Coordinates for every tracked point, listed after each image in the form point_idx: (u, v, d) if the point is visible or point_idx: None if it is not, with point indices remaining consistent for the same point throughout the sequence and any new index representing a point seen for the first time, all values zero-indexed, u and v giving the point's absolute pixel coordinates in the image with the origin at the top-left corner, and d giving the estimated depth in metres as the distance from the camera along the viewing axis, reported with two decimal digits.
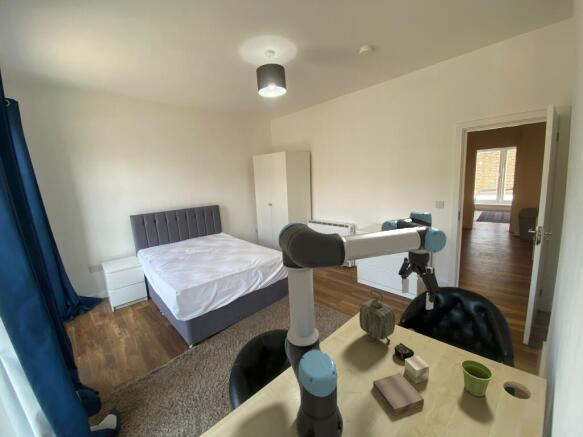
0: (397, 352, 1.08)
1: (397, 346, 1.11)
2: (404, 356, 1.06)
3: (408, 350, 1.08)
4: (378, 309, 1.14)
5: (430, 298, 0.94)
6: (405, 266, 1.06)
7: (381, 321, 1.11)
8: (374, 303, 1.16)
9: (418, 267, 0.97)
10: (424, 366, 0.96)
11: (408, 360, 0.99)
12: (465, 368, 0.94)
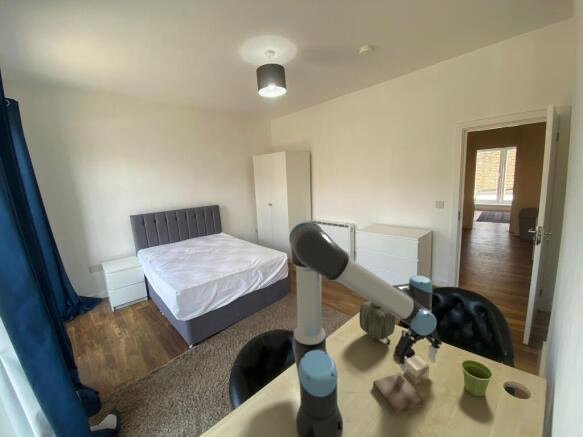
0: None
1: None
2: None
3: None
4: (378, 309, 1.15)
5: None
6: (431, 332, 0.98)
7: (381, 321, 1.11)
8: None
9: None
10: (424, 366, 0.96)
11: (408, 360, 0.99)
12: (465, 368, 0.94)
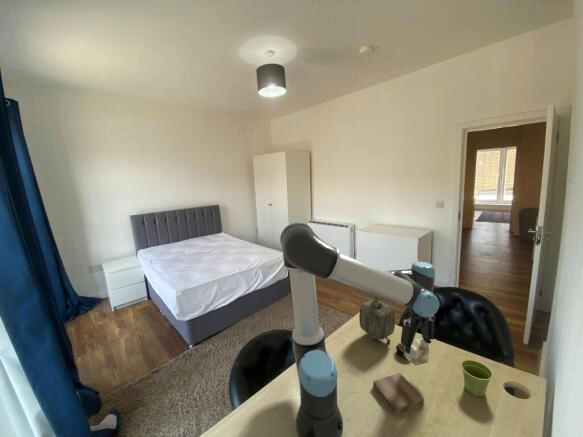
0: (399, 351, 1.09)
1: (399, 345, 1.11)
2: None
3: None
4: (378, 309, 1.14)
5: None
6: (428, 324, 0.97)
7: (381, 321, 1.11)
8: (374, 303, 1.16)
9: None
10: (424, 348, 0.94)
11: None
12: (465, 368, 0.94)
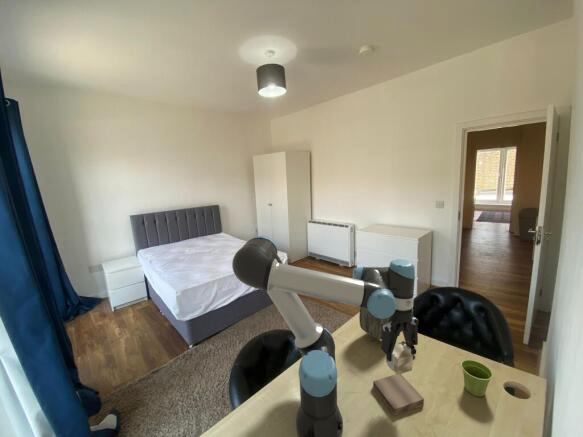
0: None
1: None
2: None
3: None
4: None
5: None
6: (411, 328, 0.88)
7: (381, 321, 1.11)
8: None
9: None
10: (407, 355, 0.85)
11: None
12: (465, 368, 0.94)
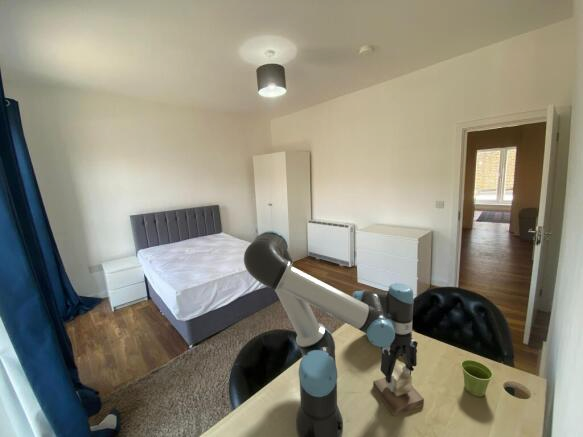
0: None
1: None
2: None
3: None
4: None
5: None
6: (410, 350, 0.89)
7: None
8: None
9: None
10: (406, 377, 0.87)
11: None
12: (465, 368, 0.94)
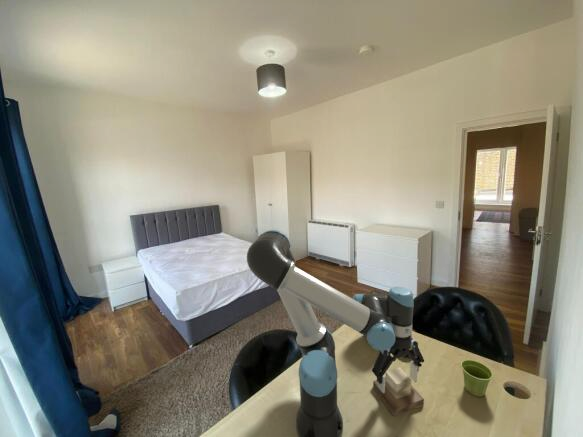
0: None
1: None
2: None
3: None
4: None
5: None
6: (413, 349, 0.90)
7: None
8: None
9: None
10: (406, 380, 0.87)
11: (389, 372, 0.91)
12: (465, 368, 0.94)
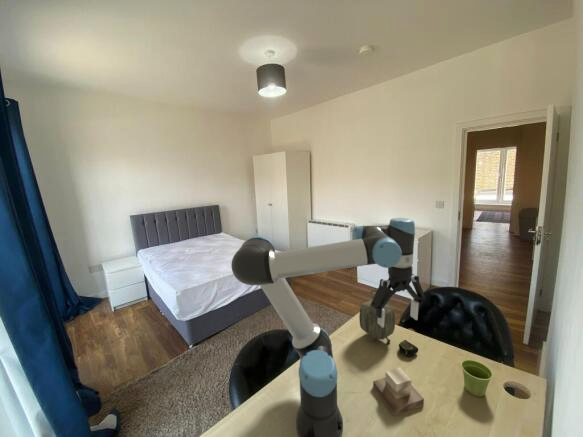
0: (401, 348, 1.10)
1: (401, 343, 1.13)
2: (409, 353, 1.08)
3: (412, 346, 1.10)
4: None
5: None
6: (414, 285, 0.87)
7: None
8: None
9: None
10: (406, 380, 0.87)
11: (389, 372, 0.91)
12: (465, 368, 0.94)
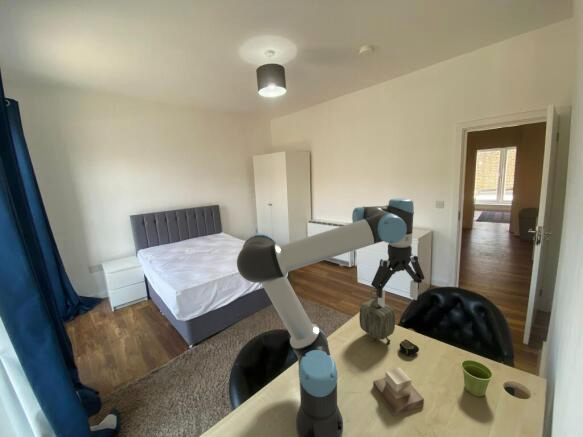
0: (402, 348, 1.10)
1: (402, 342, 1.13)
2: (409, 352, 1.08)
3: (413, 346, 1.10)
4: (378, 309, 1.14)
5: None
6: (413, 266, 0.89)
7: (381, 321, 1.11)
8: (374, 303, 1.16)
9: None
10: (406, 380, 0.87)
11: (389, 372, 0.91)
12: (465, 368, 0.94)
